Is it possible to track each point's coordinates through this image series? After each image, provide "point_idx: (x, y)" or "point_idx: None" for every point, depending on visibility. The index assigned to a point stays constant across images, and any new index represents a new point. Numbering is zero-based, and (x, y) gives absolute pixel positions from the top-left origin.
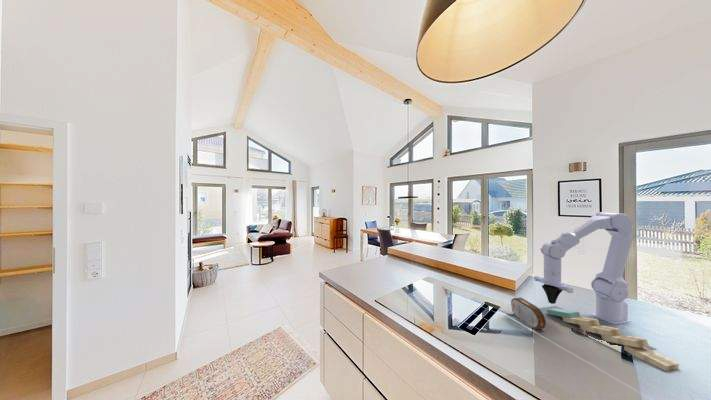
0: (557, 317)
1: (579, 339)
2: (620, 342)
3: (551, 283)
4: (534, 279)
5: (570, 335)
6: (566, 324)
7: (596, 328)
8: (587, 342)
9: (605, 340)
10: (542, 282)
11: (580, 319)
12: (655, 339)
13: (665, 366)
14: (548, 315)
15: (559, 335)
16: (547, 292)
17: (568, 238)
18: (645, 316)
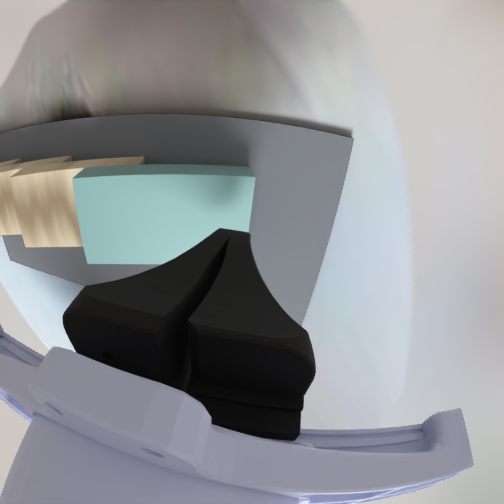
0: None
1: (43, 73)
2: None
3: (35, 410)
4: (459, 423)
5: (65, 60)
6: (117, 136)
7: (4, 171)
8: (28, 87)
9: (14, 160)
10: (345, 435)
11: (45, 184)
12: (56, 321)
13: None
14: (232, 147)
15: (81, 8)
16: (226, 285)
17: None
18: None
